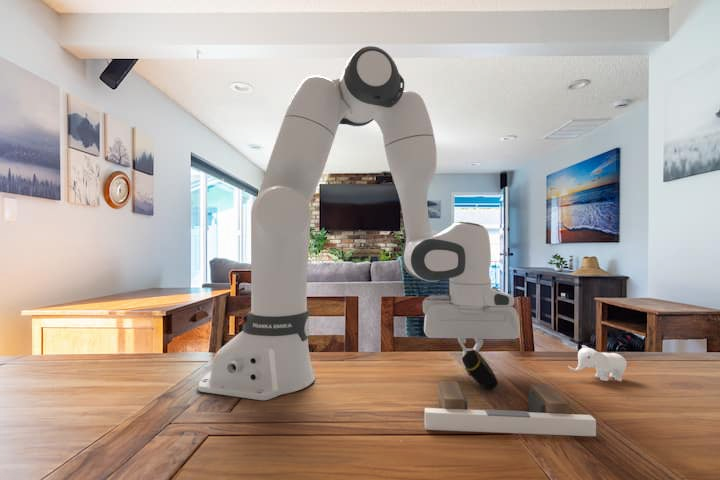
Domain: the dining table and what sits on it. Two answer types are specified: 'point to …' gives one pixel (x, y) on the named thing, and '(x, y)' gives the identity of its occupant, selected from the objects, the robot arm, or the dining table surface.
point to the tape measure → (479, 369)
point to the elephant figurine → (601, 363)
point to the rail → (508, 414)
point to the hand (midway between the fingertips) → (470, 357)
